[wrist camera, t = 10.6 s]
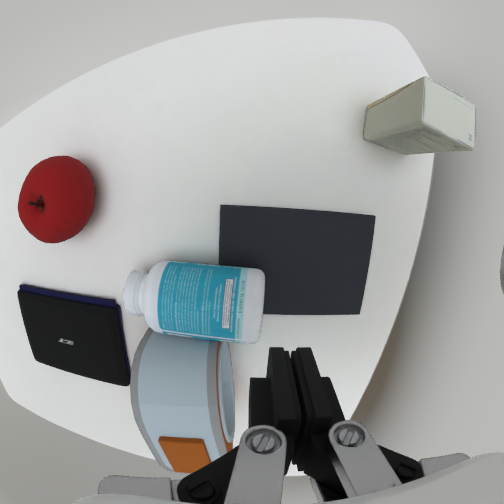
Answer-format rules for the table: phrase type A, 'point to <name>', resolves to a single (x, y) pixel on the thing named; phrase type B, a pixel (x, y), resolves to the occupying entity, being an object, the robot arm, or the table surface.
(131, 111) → the table surface
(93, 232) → the table surface
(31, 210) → the apple
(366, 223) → the mat
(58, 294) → the laptop
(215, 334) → the pill bottle
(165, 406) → the alarm clock
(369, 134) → the cosmetic box
